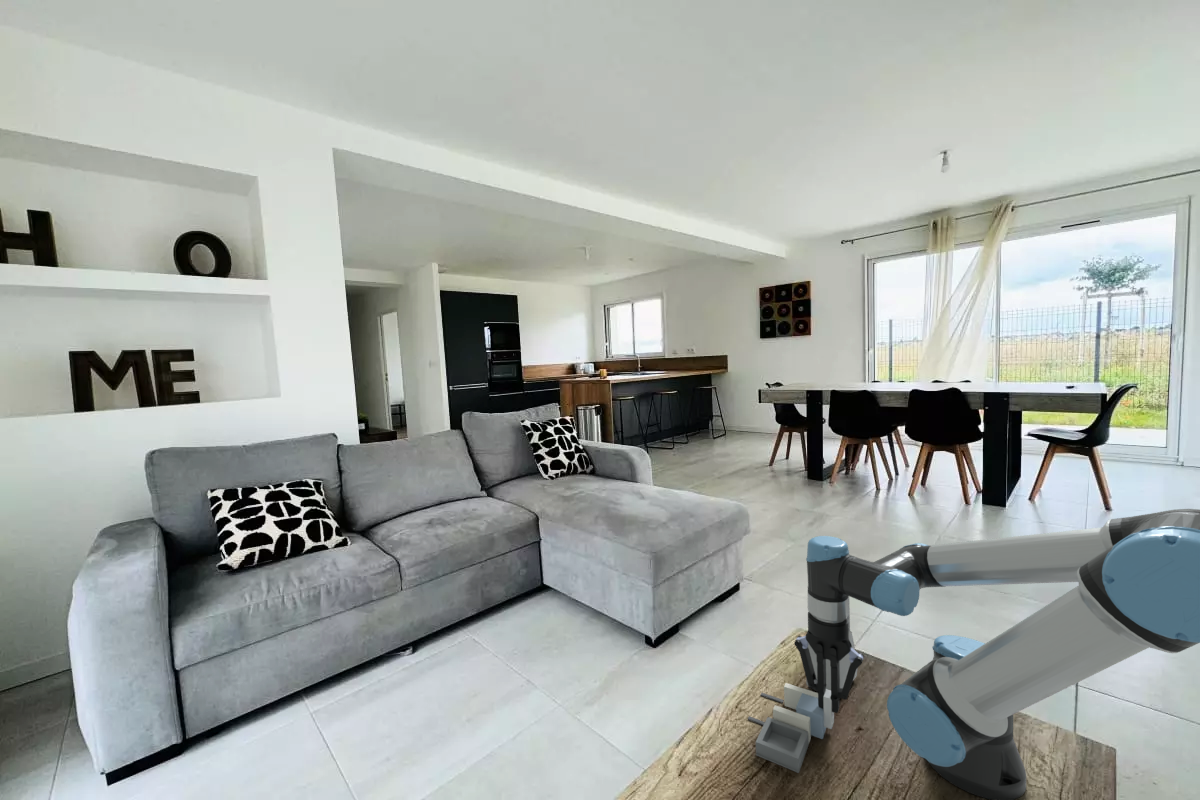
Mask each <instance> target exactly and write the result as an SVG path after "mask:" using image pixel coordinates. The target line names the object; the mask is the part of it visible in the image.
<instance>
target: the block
mask: <svg viewBox="0 0 1200 800" xmlns="http://www.w3.org/2000/svg"><path fill="white" fill-rule="evenodd" d="M795 712H796V713H799V714H802V715H805V716H808V717H810V727H811V737H814V738H817V739H821V740H823V739H824V737H825V734H826V730H827V728H826V727H824V709H822V708H820V707H819V706H818V698H815V697H812V696H809V695H806V694H803V693H802V695H801V697H800V699H799V702H798V704H797V706H796V710H795Z"/></svg>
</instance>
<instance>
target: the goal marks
mask: <svg viewBox="0 0 1200 800" xmlns="http://www.w3.org/2000/svg"><path fill="white" fill-rule="evenodd" d="M760 696H761V697H764V698H766V699H769V700H772V701H774V702H778V703H780V704H783V703H784V699H782V698H780V697H776V696H773V695H770V694H767V693H764V692H760ZM747 721H750V722H754V723H755V724H759V725H760V726H763V725H764V723H765V721H763V720H760V719H758V718H755V717H753V716H749V715H748V717H747Z"/></svg>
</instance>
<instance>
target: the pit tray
mask: <svg viewBox="0 0 1200 800" xmlns="http://www.w3.org/2000/svg"><path fill="white" fill-rule="evenodd" d="M764 722H765V723H764V725H762V726H761V727H762V728H761V730H760V731H759V733H758V736H757V738H756V740H755V756H757V757H759V758H761V759H764V760H767V761H769V762H772V763H774V764H776V765H778V766H781V767H784V768H785V769H788V770H790V771H793V772H795V773H797V774H799V773H800V771H801V768H802V765H803V762H804V759H805V756H806V754H807V750H808V747H809V744H810V742H809V743H808V731H805V730H802V729H800V728H797V727H794V726H791V725H789V724H786V723H783V722H781V721H778V720H775V719H773V717H769V716H767V718H766V720H765V721H764Z"/></svg>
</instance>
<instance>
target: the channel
mask: <svg viewBox="0 0 1200 800" xmlns="http://www.w3.org/2000/svg"><path fill="white" fill-rule="evenodd" d="M783 693H784V694H783V697H784V699H783V700H784V702H783V703H784V707H787V708H784V707H782V706H780V705H779V706H778V705H776V704H775V705H774V707H773V709H772V719H775V720H778V721H781V722H783V723H786V724H789V725H791V726H794V727H797V728H800V729H802V730H805V731H808V743H809V744H810V742H811V737H812V735H811V727H810V717H808V716H805V715H802V714H799V713H796V706H797V704H798V702H799V699H800V697H801V695H802V693H803V694H806V695H809V696H812V697H815V698H818V692H817V691H816V692H815V691H812V690H810V689H806V688H803V687H801V686H796V685H793V684H791V683H788V682H785V684H784V685H783ZM788 708H789V709H788ZM790 709H793V710H795V711H793V710H790Z"/></svg>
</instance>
